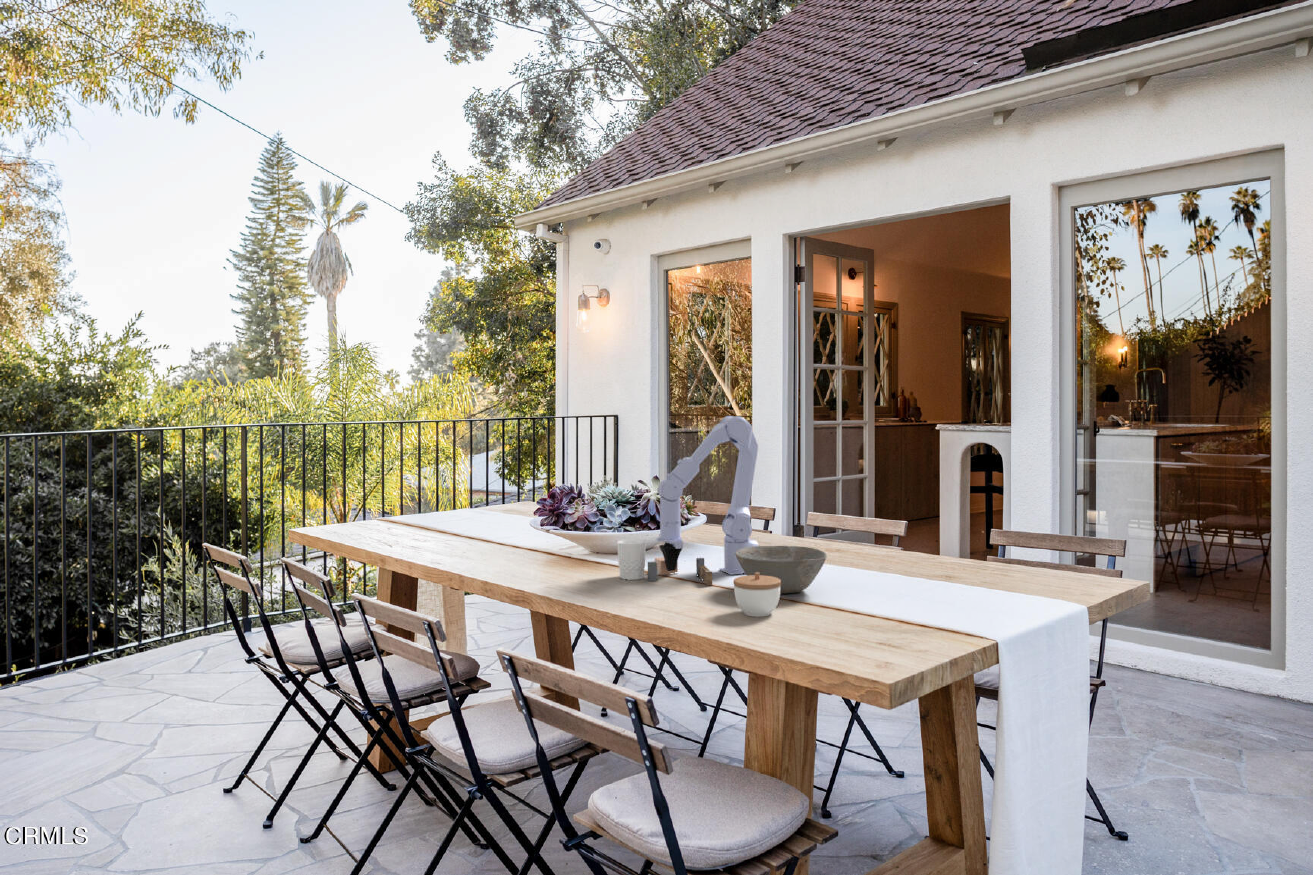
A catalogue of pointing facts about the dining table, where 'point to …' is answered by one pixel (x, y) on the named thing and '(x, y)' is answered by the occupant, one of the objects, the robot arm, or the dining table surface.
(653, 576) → the grey blocks
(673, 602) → the dining table surface
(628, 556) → the white cup
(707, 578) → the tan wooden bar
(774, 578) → the lidded jar
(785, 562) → the ceramic bowl
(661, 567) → the block
